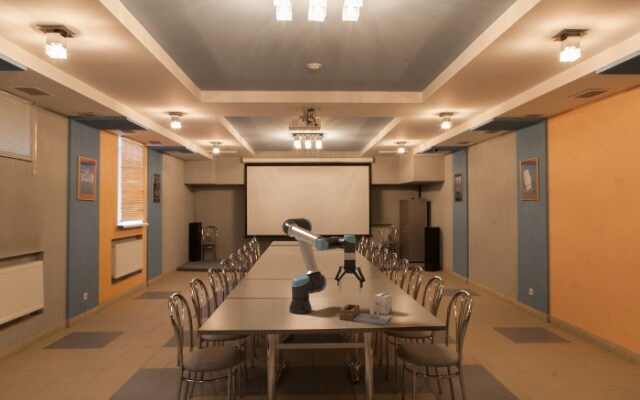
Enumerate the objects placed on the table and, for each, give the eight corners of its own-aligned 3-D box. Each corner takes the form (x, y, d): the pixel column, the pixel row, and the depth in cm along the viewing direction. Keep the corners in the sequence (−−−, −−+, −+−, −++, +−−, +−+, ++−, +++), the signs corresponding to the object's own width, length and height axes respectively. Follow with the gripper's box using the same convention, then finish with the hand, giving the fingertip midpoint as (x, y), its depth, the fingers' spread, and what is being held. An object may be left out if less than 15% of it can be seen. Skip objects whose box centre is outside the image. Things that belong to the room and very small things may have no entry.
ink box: (381, 309, 290) (381, 290, 290) (392, 312, 285) (392, 292, 285) (374, 312, 283) (374, 292, 283) (385, 314, 278) (385, 294, 278)
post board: (353, 320, 264) (353, 309, 264) (360, 315, 277) (360, 304, 277) (385, 324, 256) (385, 312, 256) (390, 318, 269) (390, 307, 269)
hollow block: (351, 321, 263) (351, 311, 263) (339, 319, 266) (339, 310, 266) (359, 314, 278) (359, 305, 278) (347, 313, 281) (347, 304, 281)
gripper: (329, 258, 274) (329, 291, 273) (366, 260, 264) (367, 294, 264) (333, 257, 280) (333, 289, 280) (370, 259, 271) (370, 292, 271)
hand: (349, 292), depth 272 cm, fingers open, 13 cm apart
